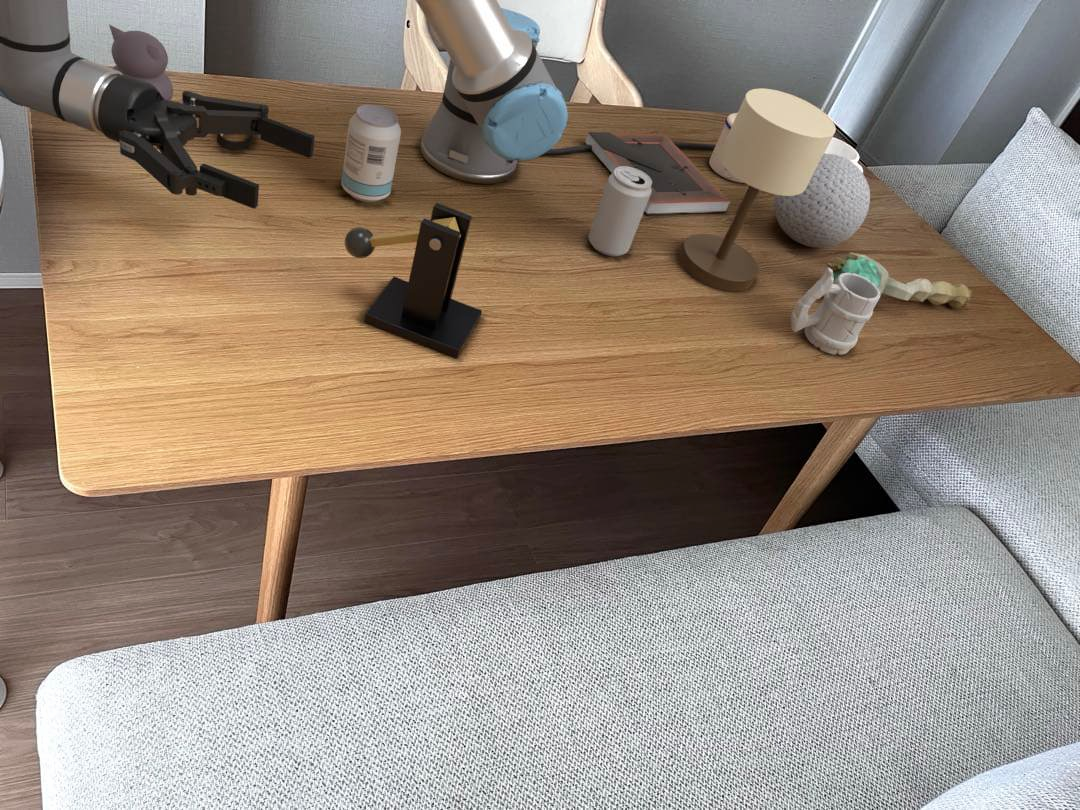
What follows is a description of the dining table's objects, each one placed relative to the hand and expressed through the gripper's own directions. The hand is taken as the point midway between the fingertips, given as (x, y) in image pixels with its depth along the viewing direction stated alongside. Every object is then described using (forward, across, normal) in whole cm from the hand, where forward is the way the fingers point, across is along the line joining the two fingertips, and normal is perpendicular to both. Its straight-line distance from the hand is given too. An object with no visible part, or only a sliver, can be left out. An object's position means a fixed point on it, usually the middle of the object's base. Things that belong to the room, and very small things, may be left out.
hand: (286, 170), depth 104 cm
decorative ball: (+66, -58, -14) cm, 89 cm away
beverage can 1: (+2, -22, -13) cm, 26 cm away
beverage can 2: (+37, -32, -14) cm, 51 cm away
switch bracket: (+19, 0, -13) cm, 23 cm away
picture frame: (+39, -59, -14) cm, 72 cm away
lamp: (+53, -38, -14) cm, 67 cm away
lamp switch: (+15, 0, -5) cm, 16 cm away
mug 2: (+70, -29, -14) cm, 77 cm away
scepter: (+82, -49, -14) cm, 97 cm away
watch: (-18, -22, -13) cm, 32 cm away
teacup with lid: (+53, -74, -14) cm, 92 cm away
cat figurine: (-31, -19, -13) cm, 38 cm away
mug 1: (+68, -74, -14) cm, 101 cm away
